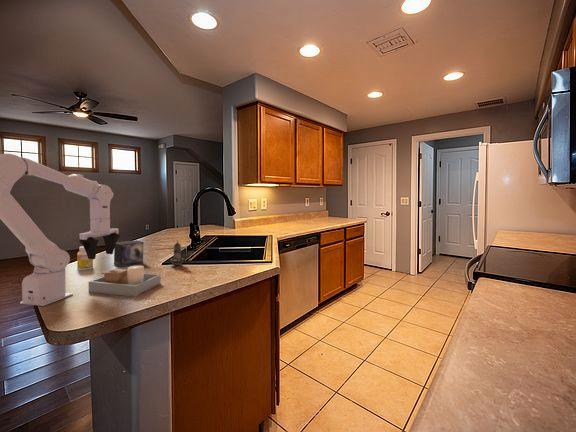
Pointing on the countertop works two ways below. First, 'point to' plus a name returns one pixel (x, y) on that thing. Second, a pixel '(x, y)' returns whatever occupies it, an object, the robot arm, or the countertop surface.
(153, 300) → the countertop surface
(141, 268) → the beige round piece
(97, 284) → the tote
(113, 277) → the walnut cube
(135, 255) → the small box
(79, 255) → the supplement bottle
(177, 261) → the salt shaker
